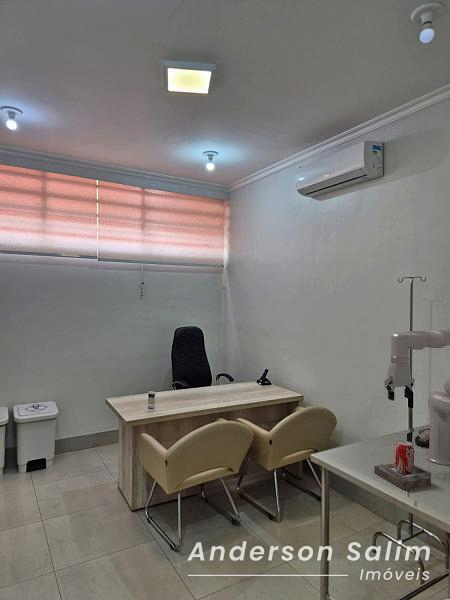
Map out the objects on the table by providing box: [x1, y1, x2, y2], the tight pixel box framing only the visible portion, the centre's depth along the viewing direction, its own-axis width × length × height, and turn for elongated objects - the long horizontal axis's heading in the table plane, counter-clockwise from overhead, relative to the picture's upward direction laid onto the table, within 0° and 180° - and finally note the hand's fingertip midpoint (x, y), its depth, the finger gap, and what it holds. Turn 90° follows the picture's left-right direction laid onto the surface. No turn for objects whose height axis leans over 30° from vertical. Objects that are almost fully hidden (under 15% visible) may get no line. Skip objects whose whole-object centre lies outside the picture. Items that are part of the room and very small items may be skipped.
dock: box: [373, 462, 432, 491], centre depth 161 cm, size 14×16×5 cm
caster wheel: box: [414, 427, 430, 449], centre depth 204 cm, size 7×11×10 cm
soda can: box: [394, 440, 415, 475], centre depth 161 cm, size 7×7×12 cm
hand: (399, 398), depth 176 cm, fingers open, 9 cm apart
